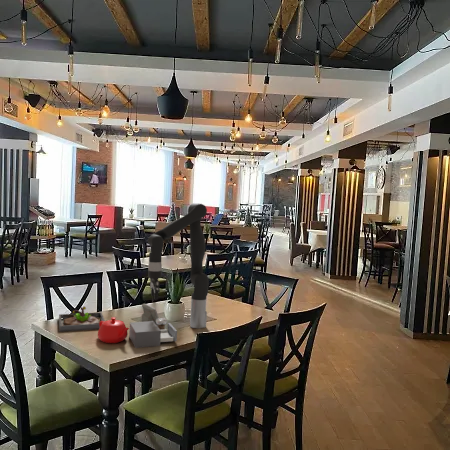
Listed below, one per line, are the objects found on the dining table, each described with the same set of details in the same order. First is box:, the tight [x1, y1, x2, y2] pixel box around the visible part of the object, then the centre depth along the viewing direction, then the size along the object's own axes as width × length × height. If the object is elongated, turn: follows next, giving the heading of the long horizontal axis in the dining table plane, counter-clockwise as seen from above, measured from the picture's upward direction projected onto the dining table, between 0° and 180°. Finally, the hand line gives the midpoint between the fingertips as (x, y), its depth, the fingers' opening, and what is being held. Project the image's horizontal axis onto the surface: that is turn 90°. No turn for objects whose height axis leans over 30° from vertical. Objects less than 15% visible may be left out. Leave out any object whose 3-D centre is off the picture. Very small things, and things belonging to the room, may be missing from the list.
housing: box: [128, 321, 161, 349], centre depth 225 cm, size 13×18×8 cm
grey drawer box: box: [160, 322, 178, 343], centre depth 228 cm, size 13×15×6 cm
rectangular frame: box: [58, 311, 106, 332], centre depth 249 cm, size 25×25×3 cm
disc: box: [156, 317, 168, 326], centre depth 242 cm, size 6×6×2 cm
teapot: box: [97, 316, 130, 344], centre depth 223 cm, size 25×16×12 cm, turn 51°
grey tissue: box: [140, 303, 159, 326], centre depth 259 cm, size 16×9×11 cm, turn 25°
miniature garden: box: [62, 306, 100, 326], centre depth 250 cm, size 20×20×11 cm
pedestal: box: [157, 324, 166, 330], centre depth 242 cm, size 4×4×5 cm
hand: (154, 297), depth 241 cm, fingers open, 8 cm apart
